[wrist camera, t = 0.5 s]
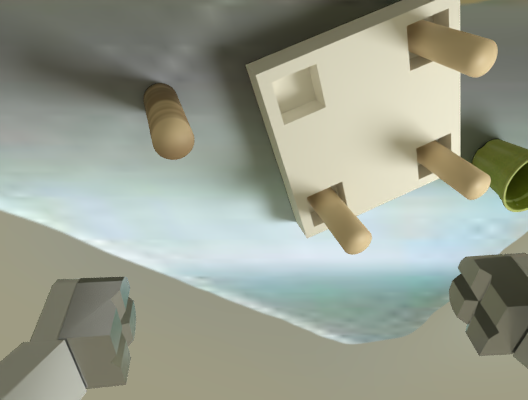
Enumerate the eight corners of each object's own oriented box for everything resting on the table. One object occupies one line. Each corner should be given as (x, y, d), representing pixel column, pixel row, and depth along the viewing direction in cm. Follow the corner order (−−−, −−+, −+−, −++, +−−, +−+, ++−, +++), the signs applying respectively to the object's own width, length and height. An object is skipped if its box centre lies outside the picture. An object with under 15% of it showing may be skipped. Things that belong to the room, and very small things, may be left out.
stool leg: (137, 91, 44) (145, 131, 35) (169, 78, 44) (184, 115, 36) (152, 120, 46) (163, 165, 37) (182, 108, 47) (200, 149, 38)
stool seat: (245, 64, 46) (282, 101, 36) (436, -15, 48) (520, 0, 38) (296, 222, 60) (333, 278, 51) (442, 156, 62) (504, 198, 53)
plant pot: (454, 186, 67) (495, 216, 60) (471, 132, 62) (517, 157, 55) (502, 178, 69) (546, 206, 62) (521, 125, 64) (572, 149, 57)
